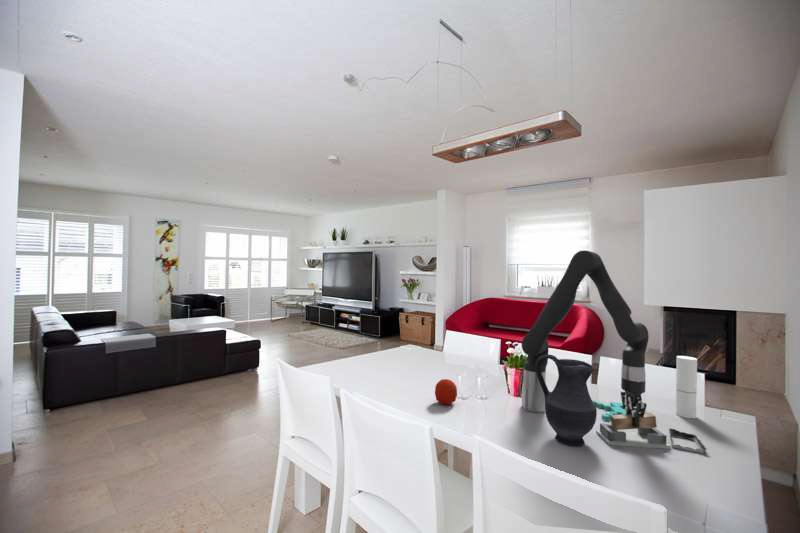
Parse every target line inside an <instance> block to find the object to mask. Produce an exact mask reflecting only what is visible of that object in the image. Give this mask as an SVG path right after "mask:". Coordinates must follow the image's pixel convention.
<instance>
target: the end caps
mask: <svg viewBox="0 0 800 533" xmlns="http://www.w3.org/2000/svg"><path fill="white" fill-rule="evenodd" d="M599 430H600V432H601V433H602V434H603V435H604V436H605V437H606V438H607V439H608V440H609V441H620V442H626V433H625V432H626V431H622V430H616V429H614V428H613V427H612V425H611V423H601V422H600V423H599ZM637 433H638V434H639V435H641V436H648V437H647V442H649V443H651V444H666V443H667V435H666V434H665V433H663V432H662V431H660V430H659V429H658V428H657V427H655V428H640V429H637Z"/></svg>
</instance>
